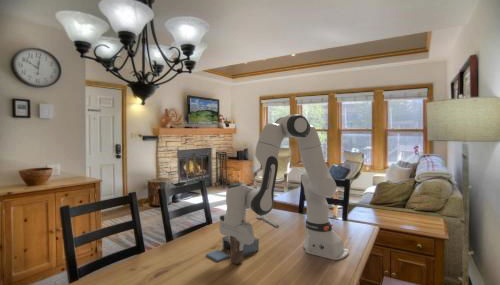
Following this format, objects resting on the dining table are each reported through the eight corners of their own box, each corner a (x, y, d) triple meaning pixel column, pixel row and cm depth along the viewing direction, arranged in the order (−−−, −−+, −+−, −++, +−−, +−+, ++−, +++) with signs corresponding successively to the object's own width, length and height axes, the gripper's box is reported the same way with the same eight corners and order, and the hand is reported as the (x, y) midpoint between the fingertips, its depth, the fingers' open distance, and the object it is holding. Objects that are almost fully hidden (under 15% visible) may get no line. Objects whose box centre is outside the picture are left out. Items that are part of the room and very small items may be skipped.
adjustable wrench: (280, 227, 178) (280, 225, 178) (270, 229, 175) (270, 226, 175) (263, 216, 201) (263, 214, 201) (255, 217, 199) (255, 215, 199)
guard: (258, 250, 143) (258, 238, 143) (241, 258, 135) (241, 245, 135) (240, 242, 153) (239, 231, 153) (222, 249, 145) (222, 237, 145)
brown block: (242, 261, 130) (242, 235, 129) (236, 264, 127) (235, 238, 127) (237, 258, 133) (236, 233, 132) (230, 261, 130) (230, 235, 129)
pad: (229, 257, 136) (229, 255, 136) (217, 262, 131) (217, 259, 131) (217, 251, 142) (217, 249, 142) (206, 255, 137) (206, 253, 137)
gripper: (257, 221, 124) (257, 253, 124) (227, 212, 138) (227, 240, 139) (246, 225, 119) (247, 257, 120) (216, 215, 134) (217, 244, 135)
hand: (236, 248), depth 130 cm, fingers closed on brown block, 4 cm apart
